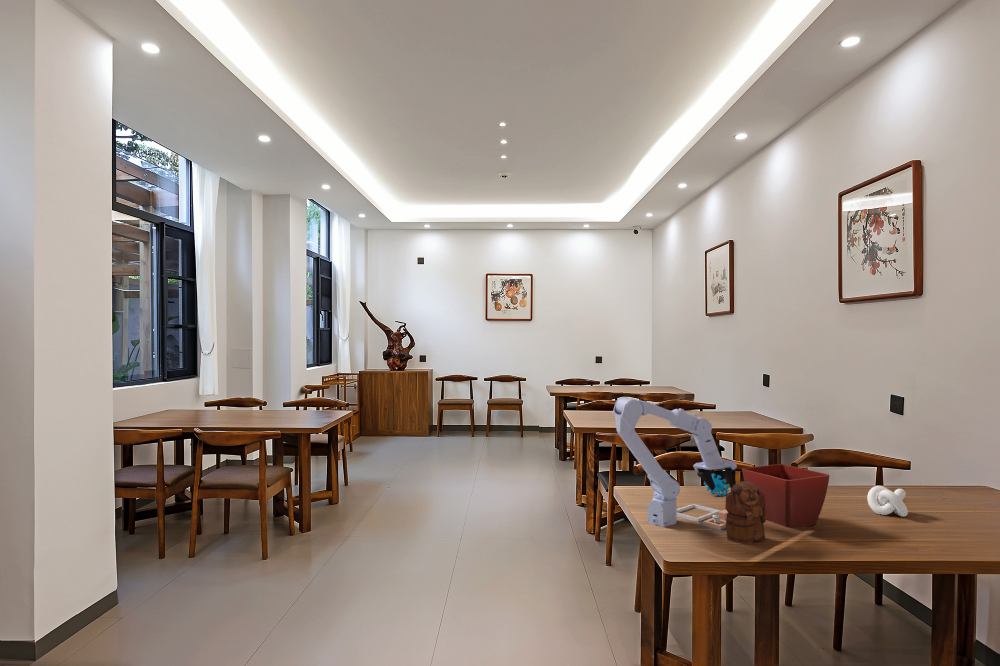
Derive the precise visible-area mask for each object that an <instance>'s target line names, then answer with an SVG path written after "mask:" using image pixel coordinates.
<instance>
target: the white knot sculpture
mask: <svg viewBox="0 0 1000 666" xmlns="http://www.w3.org/2000/svg"><path fill="white" fill-rule="evenodd" d="M906 494H907V493H906V491H905V490H904V489H903V488H897V489H895V490H894V492H893V491H892V490H890V489H889V488H887V487H885V486H883V485H874V486H873V487H871V489H869V490H868V493H867V495H866V498H867V503H868V506H869V509H871V510H872V511H873V512H874V513H875V514H878V515H880V514H881V515H880V516H887V515H889V514H891V513H893V512H894V513H895V515H897V516H899V517H902V518H904V517H907V516H908V515H909V510H908V507H907V505H906V504H905V503H904V501H903V500H904V499H905V497H906Z"/></svg>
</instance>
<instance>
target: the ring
mask: <svg viewBox="0 0 1000 666" xmlns="http://www.w3.org/2000/svg"><path fill="white" fill-rule="evenodd" d="M727 514H728V512H727V510H726V509H722V510H720V511H719V512H718V515H719V516H721V518H720V519H719V524H720V525H719V524H715V523H714V518H713V517H710V518H707V519H704V520H702V523H703V525H704V526H708V527H712V528H715V529H719V530H722V529H724V528H726V517H727Z"/></svg>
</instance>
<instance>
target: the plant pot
mask: <svg viewBox="0 0 1000 666" xmlns="http://www.w3.org/2000/svg"><path fill="white" fill-rule="evenodd" d="M741 470H742V475H743V481H746V482H750V483H753V484H754V485H756V486H757V488H758V489H759V491H761V492H762V493H763V494H764V497H765V509H766V521H768V522H770V523H773V524H776V525H780V526H782V527H785V528H795V527H801V526H805V527H809V526H810V527H811V526H815V525H816V524H817V522H818V519H819V517H820V514H821V512H822V509H823V507H824V503H825V499H826V496H827V492H828V486H829V482H830V481H829V480H830V474H829V473H823V472H819V471H815V470H810V469H807V468H801V467H797V466H792V465H788V464H785V463H784V464H783V463H779V464H777V463H776V464H767V465H761V466H752V467H743V468H742V469H741Z"/></svg>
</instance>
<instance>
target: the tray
mask: <svg viewBox="0 0 1000 666" xmlns="http://www.w3.org/2000/svg"><path fill="white" fill-rule="evenodd" d="M694 508H695V509H699V510H702V511H706V512H709V513H707V514H703V515H701V516H699V517H697V516H696V517H695V516H691V515H687V514H685V513H682V512H685V511H688V510H691V509H694ZM719 511H721V510H720V509H715V508H711V507H708V506H705V505H704V506H703V505H699V504H695V503H692V504H689V505H685V506H683V507H680V508H677V518H678V517H679V518H682V519H686V520H690V521H694V522H698V523H699V522H703V521H705V520H708V519H711V518H713V515H718V512H719Z"/></svg>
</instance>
